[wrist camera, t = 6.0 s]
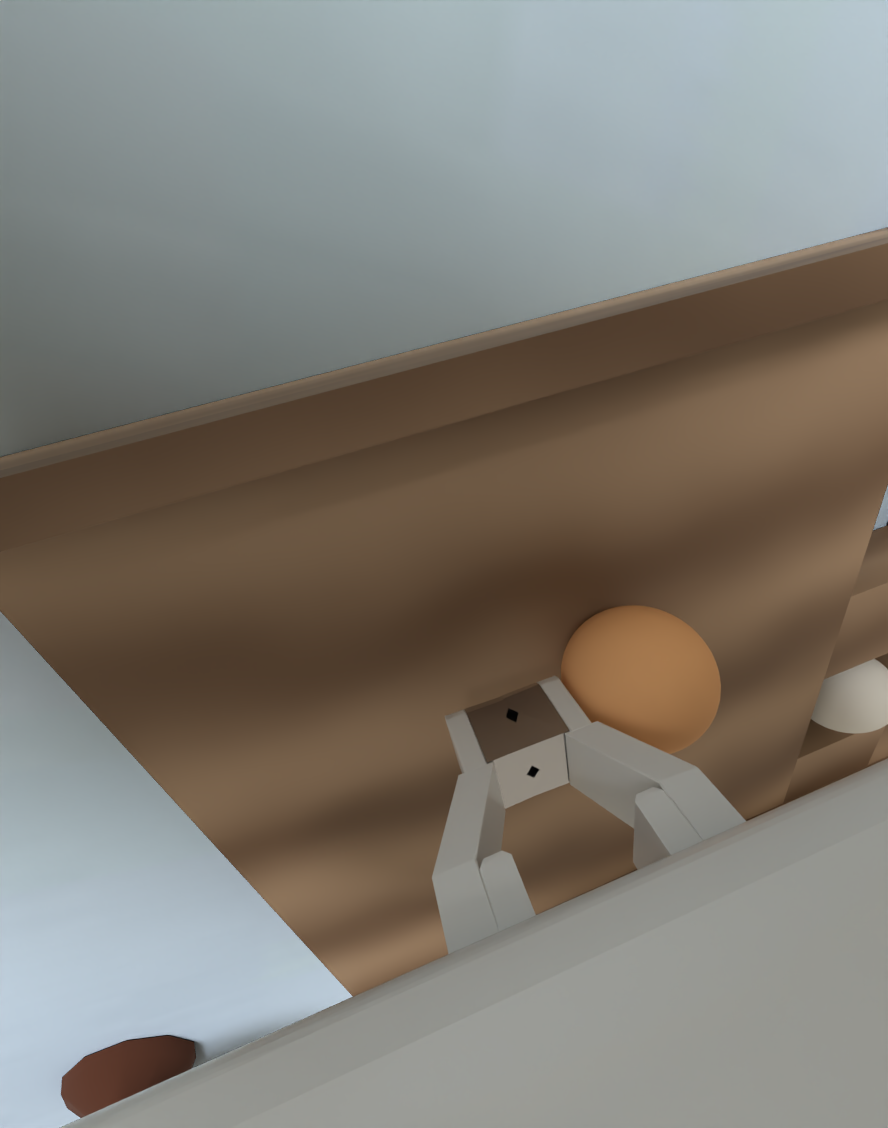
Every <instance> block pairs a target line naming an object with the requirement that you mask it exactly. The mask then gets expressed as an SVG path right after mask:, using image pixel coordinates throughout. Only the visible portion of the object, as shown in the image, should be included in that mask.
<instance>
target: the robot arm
mask: <svg viewBox="0 0 888 1128" xmlns="http://www.w3.org/2000/svg"><path fill="white" fill-rule="evenodd" d="M445 720H446V723H447V727H448V730H449V733H450V737H451V740H452V744H453V747H454V750H455V753H456V757H457V760H458V763H459V766H460V769H461V772H462V774H460V775H458V779H457V783H456V787H455V791H454V795H453V798H452V802H451V806H450V810H449V814H448V818H447V821H446V825H445V829H444V833H443V837H442V841H441V844H440V848H439V852H438V856H437V860H436V864H435V867H434V871H433V875H432V881H433V885H434V890H435V894H436V899H437V904H438V908H439V913H440V917H441V922H442V926H443V931H444V935H445V940H446V945H447V949H448V955H446V956H443V957H441V958H439V959H437V960H434V961H432V962H430V963H428V964H425V965H423V966H421V967H419V968H416V969H414V970H412V971H410V972H407V973H405V974H403V975H401V976H398V977H396V978H394V979H392V980H390V981H387V982H385V983H383V984H381V985H378V986H376V987H374V988H372V989H369V990H367V991H365V992H363V993H360V994H358V995H356V996H354V997H351V998H349V999H347V1000H345V1001H342V1002H340V1003H338V1004H336V1005H333V1006H331V1007H329V1008H327V1009H325V1010H322V1011H320V1012H318V1013H316V1014H313V1015H311V1016H309V1017H307V1018H304V1019H302V1020H300V1021H298V1022H295V1023H293V1024H291V1025H289V1026H286V1027H284V1028H282V1029H280V1030H277V1031H275V1032H273V1033H271V1034H269V1035H266V1036H264V1037H262V1038H260V1039H257V1040H255V1041H253V1042H251V1043H248V1044H246V1045H244V1046H242V1047H239V1048H237V1049H235V1050H233V1051H230V1052H228V1053H226V1054H224V1055H221V1056H219V1057H217V1058H215V1059H212V1060H210V1061H208V1062H206V1063H204V1064H201V1065H199V1066H197V1067H195V1068H192V1069H190V1070H188V1071H186V1072H183V1073H181V1074H179V1075H177V1076H174V1077H172V1078H170V1079H168V1080H165V1081H163V1082H161V1083H159V1084H156V1085H154V1086H152V1087H150V1088H148V1089H145V1090H143V1091H141V1092H139V1093H136V1094H134V1095H132V1096H130V1097H127V1098H125V1099H123V1100H121V1101H118V1102H116V1103H114V1104H112V1105H109V1106H107V1107H105V1108H103V1109H100V1110H98V1111H96V1112H94V1113H91V1114H89V1115H87V1116H85V1117H82V1118H80V1119H78V1120H76V1121H74V1122H71V1123H69V1124H67V1125H65V1126H62V1127H60V1128H888V758H887V759H885V760H883V761H881V762H878V763H876V764H874V765H872V766H870V767H867V768H865V769H863V770H861V771H858V772H856V773H854V774H852V775H849V776H847V777H845V778H843V779H840V780H838V781H836V782H834V783H831V784H829V785H827V786H825V787H822V788H820V789H818V790H816V791H813V792H811V793H809V794H807V795H804V796H802V797H800V798H798V799H796V800H793V801H791V802H789V803H787V804H784V805H782V806H780V807H778V808H775V809H773V810H771V811H769V812H766V813H764V814H762V815H760V816H757V817H755V818H753V819H751V820H748V821H746V820H745V819H744V818H743V817H742V816H741V815H740V814H739V813H738V811H737V810H736V809H735V808H734V807H733V806H732V805H731V804H730V803H729V801H728V800H727V799H726V798H725V797H724V796H723V795H722V794H721V793H720V791H719V790H718V789H717V788H716V787H715V786H714V785H713V784H712V783H711V781H710V780H709V779H708V778H707V777H706V776H705V775H704V774H703V773H702V771H701V770H700V769H699V768H698V767H696V766H694V765H692V764H690V763H688V762H685V761H683V760H681V759H679V758H677V757H675V756H672V755H670V754H668V753H666V752H664V751H662V750H659V749H657V748H655V747H653V746H651V745H649V744H646V743H644V742H642V741H640V740H638V739H635V738H633V737H631V736H629V735H627V734H625V733H622V732H620V731H618V730H616V729H614V728H612V727H609V726H607V725H605V724H603V723H601V722H598V721H596V722H593V723H591V721H590V720H589V718H588V717H587V716H586V714H585V713H584V712H583V710H582V709H581V708H580V706H579V705H578V703H577V702H576V701H575V699H574V698H573V697H572V695H571V694H570V693H569V691H568V690H567V689H566V687H565V686H564V684H563V683H562V682H561V680H560V679H559V678H558V677H556V676H552V677H550V678H547V679H544V680H542V681H539V682H537V683H533V684H530V685H528V686H525V687H522V688H520V689H517V690H515V691H512V692H509V693H507V694H504V695H502V696H500V697H498V698H495V699H492V700H489V701H486V702H483V703H480V704H477V705H474V706H471V707H469V708H466V709H463V710H460V711H458V712H455V713H452V714H449V715H446V716H445ZM567 783H570V785H571V786H573V787H574V788H576V789H577V790H579V791H580V792H582V793H583V794H584V795H586V796H587V797H589V798H590V799H592V800H593V801H595V802H596V803H597V804H599V805H600V806H602V807H603V808H605V809H606V810H608V811H609V812H611V813H612V814H613V815H615V816H616V817H618V818H619V819H621V820H622V821H624V822H625V823H626V824H628V825H629V826H631V827H632V828H634V846H633V863H634V864H635V866H636V868H637V869H638V870H636V871H634V872H632V873H629V874H627V875H625V876H623V877H620V878H618V879H616V880H614V881H611V882H609V883H607V884H605V885H602V886H600V887H598V888H596V889H593V890H591V891H589V892H587V893H585V894H582V895H580V896H578V897H576V898H573V899H571V900H569V901H567V902H564V903H562V904H560V905H558V906H555V907H553V908H551V909H549V910H546V911H544V912H542V913H540V914H537V915H536V914H535V912H534V909H533V907H532V904H531V902H530V899H529V897H528V894H527V892H526V889H525V887H524V884H523V882H522V879H521V877H520V874H519V872H518V869H517V867H516V864H515V862H514V859H513V857H512V854H510V853H507V852H505V851H501V846H502V838H503V829H504V821H505V812H506V811H505V809H506V808H508V807H511V806H513V805H515V804H517V803H520V802H522V801H524V800H526V799H529V798H531V797H533V796H535V795H538V794H541V793H543V792H546V791H549V790H551V789H554V788H557V787H559V786H562V785H565V784H567Z"/></svg>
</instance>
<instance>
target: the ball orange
mask: <svg viewBox="0 0 888 1128" xmlns="http://www.w3.org/2000/svg"><path fill="white" fill-rule="evenodd" d="M561 682H562V683H563V684H564V686H565V687H566V689H567V690H568V691H569V693H570V694H571V695H572V697H573V698H574V699H575V701H576V702H577V703H578V705H579V706H580V708H581V709H582V710H583V712H584V713H585V714H586V716H587V717H588V718H589V720H590V721H591V723H593V722H596V721H598V722H601V723H603V724H605V725H607V726H609V727H612V728H614V729H616V730H618V731H620V732H622V733H625V734H627V735H629V736H631V737H633V738H635V739H638V740H640V741H642V742H644V743H646V744H649V745H651V746H653V747H655V748H657V749H659V750H662V751H664V752H666V753H668V754H672V753H675V752H678V751H680V750H682V749H684V748H686V747H688V746H690V745H691V744H693V743H694V742H695V741H697V740H698V739H699V738H700V737H701V736H702V735H703V734H704V733H705V732H706V730H707V729H708V728H709V727H710V725H711V723H712V721H713V720H714V718H715V716H716V713H717V710H718V706H719V703H720V695H721V682H720V675H719V670H718V667H717V664H716V661H715V659H714V656H713V654H712V652H711V650H710V649H709V647H708V646H707V644H706V643H705V642H704V640H703V639H702V638H701V637H700V635H699V634H698V633H697V632H696V631H695V630H694V629H693V628H692V627H690V626H689V625H688V624H686V623H685V622H684V621H682V620H681V619H679V618H677V617H675V616H674V615H672V614H670V613H667V612H665V611H662V610H659V609H656V608H652V607H647V606H639V605H626V606H619V607H614V608H610V609H607V610H604V611H602V612H600V613H598V614H595V615H594V616H592V617H591V618H589V619H588V620H586V621H585V622H584V623H583V624H582V625H581V626H580V627H579V628H578V629H577V630H576V631H575V632H574V634H573V635H572V637H571V638H570V640H569V641H568V644H567V646H566V649H565V651H564V654H563V658H562V663H561Z"/></svg>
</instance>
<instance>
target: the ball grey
mask: <svg viewBox="0 0 888 1128" xmlns="http://www.w3.org/2000/svg"><path fill="white" fill-rule="evenodd" d="M811 719H812V720H813V721H815V722H816V723H818V724H820V725H822V726H824V727H826V728H829V729H832V730H835V731H839V732H844V733H854V734H855V733H867V732H872V731H875V730H878V729H880V728H882V727H884V726H886V725H887V724H888V669H887V668H886V667H885V666H884V665H883V664H881V663H880V662H879V661H877V660H876V659H872V660H870V661H868V662H865V663H863V664H860V665H858V666H855V667H853V668H851V669H848V670H846V671H843V672H841V673H838V674H836V675H834V676H831V677H829V678H826V679H824V680H823V683H822V686H821V689H820V692H819V696H818V699H817V702H816V705H815V708H814V711H813V714H812V717H811Z"/></svg>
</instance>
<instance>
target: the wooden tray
mask: <svg viewBox="0 0 888 1128" xmlns="http://www.w3.org/2000/svg"><path fill="white" fill-rule="evenodd" d="M887 485H888V227H887V228H884V229H880V230H876V231H872V232H868V233H864V234H860V235H856V236H853V237H849V238H845V239H841V240H837V241H833V242H829V243H826V244H822V245H818V246H814V247H810V248H806V249H802V250H799V251H795V252H791V253H787V254H783V255H779V256H775V257H771V258H768V259H764V260H760V261H756V262H752V263H748V264H744V265H741V266H737V267H733V268H729V269H725V270H721V271H717V272H714V273H710V274H706V275H702V276H698V277H694V278H690V279H687V280H683V281H679V282H675V283H671V284H667V285H663V286H659V287H656V288H652V289H648V290H644V291H640V292H636V293H632V294H629V295H625V296H621V297H617V298H613V299H609V300H605V301H602V302H598V303H594V304H590V305H586V306H582V307H578V308H574V309H571V310H567V311H563V312H559V313H555V314H551V315H547V316H544V317H540V318H536V319H532V320H528V321H524V322H520V323H517V324H513V325H509V326H505V327H501V328H497V329H493V330H490V331H486V332H482V333H478V334H474V335H470V336H466V337H462V338H459V339H455V340H451V341H447V342H443V343H439V344H435V345H432V346H428V347H424V348H420V349H416V350H412V351H408V352H405V353H401V354H397V355H393V356H389V357H385V358H381V359H377V360H374V361H370V362H366V363H362V364H358V365H354V366H350V367H347V368H343V369H339V370H335V371H331V372H327V373H323V374H320V375H316V376H312V377H308V378H304V379H300V380H296V381H293V382H289V383H285V384H281V385H277V386H273V387H269V388H265V389H262V390H258V391H254V392H250V393H246V394H242V395H238V396H235V397H231V398H227V399H223V400H219V401H215V402H211V403H208V404H204V405H200V406H196V407H192V408H188V409H184V410H180V411H177V412H173V413H169V414H165V415H161V416H157V417H153V418H150V419H146V420H142V421H138V422H134V423H130V424H126V425H123V426H119V427H115V428H111V429H107V430H103V431H99V432H95V433H92V434H88V435H84V436H80V437H76V438H72V439H68V440H65V441H61V442H57V443H53V444H49V445H45V446H41V447H38V448H34V449H30V450H26V451H22V452H18V453H14V454H11V455H7V456H3V457H0V611H1V612H2V613H3V615H4V616H5V617H6V618H7V619H8V620H9V621H10V622H11V623H12V624H13V625H14V627H15V628H16V629H17V630H18V631H19V632H20V633H21V634H22V635H23V636H24V637H25V639H26V640H27V641H28V642H29V643H30V644H31V645H32V646H33V647H34V648H35V650H36V651H37V652H38V653H39V654H40V655H41V656H42V657H43V658H44V659H45V660H46V662H47V663H48V664H49V665H50V666H51V667H52V668H53V669H54V670H55V671H56V672H57V674H58V675H59V676H60V677H61V678H62V679H63V680H64V681H65V682H66V683H67V685H68V686H69V687H70V688H71V689H72V690H73V691H74V692H75V693H76V694H77V695H78V697H79V698H80V699H81V700H82V701H83V702H84V703H85V704H86V705H87V706H88V707H89V709H90V710H91V711H92V712H93V713H94V714H95V715H96V716H97V717H98V718H99V719H100V721H101V722H102V723H103V724H104V725H105V726H106V727H107V728H108V729H109V730H110V732H111V733H112V734H113V735H114V736H115V737H116V738H117V739H118V740H119V741H120V742H121V744H122V745H123V746H124V747H125V748H126V749H127V750H128V751H129V752H130V753H131V754H132V756H133V757H134V758H135V759H136V760H137V761H138V762H139V763H140V764H141V765H142V766H143V768H144V769H145V770H146V771H147V772H148V773H149V774H150V775H151V776H152V777H153V779H154V780H155V781H156V782H157V783H158V784H159V785H160V786H161V787H162V788H163V789H164V791H165V792H166V793H167V794H168V795H169V796H170V797H171V798H172V799H173V800H174V801H175V803H176V804H177V805H178V806H179V807H180V808H181V809H182V810H183V811H184V812H185V813H186V815H187V816H188V817H189V818H190V819H191V820H192V821H193V822H194V823H195V824H196V826H197V827H198V828H199V829H200V830H201V831H202V832H203V833H204V834H205V835H206V836H207V838H208V839H209V840H210V841H211V842H212V843H213V844H214V845H215V846H216V847H217V848H218V850H219V851H220V852H221V853H222V854H223V855H224V856H225V857H226V858H227V859H228V861H229V862H230V863H231V864H232V865H233V866H234V867H235V868H236V869H237V870H238V871H239V873H240V874H241V875H242V876H243V877H244V878H245V879H246V880H247V881H248V882H249V883H250V885H251V886H252V887H253V888H254V889H255V890H256V891H257V892H258V893H259V894H260V895H261V897H262V898H263V899H264V900H265V901H266V902H267V903H268V904H269V905H270V906H271V908H272V909H273V910H274V911H275V912H276V913H277V914H278V915H279V916H280V917H281V918H282V920H283V921H284V922H285V923H286V924H287V925H288V926H289V927H290V928H291V929H292V930H293V932H294V933H295V934H296V935H297V936H298V937H299V938H300V939H301V940H302V941H303V942H304V944H305V945H306V946H307V947H308V948H309V949H310V950H311V951H312V952H313V953H314V955H315V956H316V957H317V958H318V959H319V960H320V961H321V962H322V963H323V964H324V965H325V967H326V968H327V969H328V970H329V971H330V972H331V973H332V974H333V975H334V976H335V977H336V979H337V980H338V981H339V982H340V983H341V984H342V985H343V986H344V987H345V988H346V989H347V991H348V992H349V993H350V994H351V995H352V996H353V997H354V996H356V995H358V994H360V993H363V992H365V991H367V990H369V989H372V988H374V987H376V986H378V985H381V984H383V983H385V982H387V981H390V980H392V979H394V978H396V977H398V976H401V975H403V974H405V973H407V972H410V971H412V970H414V969H416V968H419V967H421V966H423V965H425V964H428V963H430V962H432V961H434V960H437V959H439V958H441V957H443V956H446V955H448V949H447V945H446V940H445V935H444V931H443V926H442V922H441V917H440V913H439V908H438V904H437V899H436V894H435V890H434V885H433V881H432V875H433V871H434V867H435V864H436V860H437V856H438V852H439V848H440V844H441V841H442V837H443V833H444V829H445V825H446V821H447V818H448V814H449V810H450V806H451V802H452V798H453V795H454V791H455V787H456V783H457V779H458V775H460V774H462V772H461V769H460V766H459V763H458V760H457V757H456V753H455V750H454V747H453V744H452V740H451V737H450V733H449V730H448V727H447V723H446V720H445V716H446V715H449V714H452V713H455V712H458V711H460V710H463V709H466V708H469V707H471V706H474V705H477V704H480V703H483V702H486V701H489V700H492V699H495V698H498V697H500V696H502V695H504V694H507V693H509V692H512V691H515V690H517V689H520V688H522V687H525V686H528V685H530V684H533V683H537V682H539V681H542V680H544V679H547V678H550V677H552V676H556V677H558V678H559V679H560V680H561V663H562V658H563V654H564V651H565V649H566V646H567V644H568V641H569V640H570V638H571V637H572V635H573V634H574V632H575V631H576V630H577V629H578V628H579V627H580V626H581V625H582V624H583V623H584V622H585V621H586V620H588V619H589V618H591V617H592V616H594V615H595V614H598V613H600V612H602V611H604V610H607V609H610V608H614V607H619V606H626V605H639V606H647V607H652V608H656V609H659V610H662V611H665V612H667V613H670V614H672V615H674V616H675V617H677V618H679V619H681V620H682V621H684V622H685V623H686V624H688V625H689V626H690V627H692V628H693V629H694V630H695V631H696V632H697V633H698V634H699V635H700V637H701V638H702V639H703V640H704V642H705V643H706V644H707V646H708V647H709V649H710V650H711V652H712V654H713V656H714V659H715V661H716V664H717V667H718V670H719V675H720V682H721V695H720V703H719V706H718V710H717V713H716V716H715V718H714V720H713V721H712V723H711V725H710V727H709V728H708V729H707V730H706V732H705V733H704V734H703V735H702V736H701V737H700V738H699V739H698V740H697V741H695V742H694V743H693V744H691V745H690V746H688V747H686V748H684V749H682V750H680V751H678V752H675V753H672V754H670V755H672V756H675V757H677V758H679V759H681V760H683V761H685V762H688V763H690V764H692V765H694V766H696V767H698V768H699V769H700V770H701V771H702V773H703V774H704V775H705V776H706V777H707V778H708V779H709V780H710V781H711V783H712V784H713V785H714V786H715V787H716V788H717V789H718V790H719V791H720V793H721V794H722V795H723V796H724V797H725V798H726V799H727V800H728V801H729V803H730V804H731V805H732V806H733V807H734V808H735V809H736V810H737V811H738V813H739V814H740V815H741V816H742V817H743V818H744V819H745V820H746V821H748V820H751V819H753V818H755V817H757V816H760V815H762V814H764V813H766V812H769V811H771V810H773V809H775V808H778V807H780V806H782V805H784V804H787V803H789V802H791V801H793V800H796V799H798V798H800V797H802V796H804V795H807V794H809V793H811V792H813V791H816V790H818V789H820V788H822V787H825V786H827V785H829V784H831V783H834V782H836V781H838V780H840V779H843V778H845V777H847V776H849V775H852V774H854V773H856V772H858V771H861V770H863V769H865V768H867V767H870V766H872V765H874V764H876V763H878V762H881V761H883V760H885V759H887V758H888V724H887V725H886V726H884V727H882V728H880V729H878V730H875V731H872V732H867V733H855V734H854V733H844V732H839V731H835V730H832V729H829V728H826V727H824V726H822V725H820V724H818V723H816V722H815V721H813V720H812V719H811V717H812V714H813V711H814V708H815V705H816V702H817V699H818V696H819V692H820V689H821V686H822V683H823V680H824V679H826V678H829V677H831V676H834V675H836V674H838V673H841V672H843V671H846V670H848V669H851V668H853V667H855V666H858V665H860V664H863V663H865V662H868V661H870V660H872V659H876V660H877V661H879V662H880V663H881V664H883V665H884V666H885V667H886V668H887V669H888V525H887V526H885V527H882V528H879V529H877V530H874V531H873V528H874V525H875V522H876V519H877V516H878V513H879V510H880V507H881V504H882V501H883V498H884V494H885V491H886V488H887ZM505 811H506V812H505V821H504V829H503V838H502V846H501V851H505V852H507V853H510V854H512V857H513V859H514V862H515V864H516V867H517V869H518V872H519V874H520V877H521V879H522V882H523V884H524V887H525V889H526V892H527V894H528V897H529V899H530V902H531V904H532V907H533V909H534V912H535V914H536V915H537V914H540V913H542V912H544V911H546V910H549V909H551V908H553V907H555V906H558V905H560V904H562V903H564V902H567V901H569V900H571V899H573V898H576V897H578V896H580V895H582V894H585V893H587V892H589V891H591V890H593V889H596V888H598V887H600V886H602V885H605V884H607V883H609V882H611V881H614V880H616V879H618V878H620V877H623V876H625V875H627V874H629V873H632V872H634V871H636V870H638V869H637V868H636V866H635V864H634V863H633V846H634V828H632V827H631V826H629V825H628V824H626V823H625V822H624V821H622V820H621V819H619V818H618V817H616V816H615V815H613V814H612V813H611V812H609V811H608V810H606V809H605V808H603V807H602V806H600V805H599V804H597V803H596V802H595V801H593V800H592V799H590V798H589V797H587V796H586V795H584V794H583V793H582V792H580V791H579V790H577V789H576V788H574V787H573V786H571V785H570V783H567V784H565V785H562V786H559V787H557V788H554V789H551V790H549V791H546V792H543V793H541V794H538V795H535V796H533V797H531V798H529V799H526V800H524V801H522V802H520V803H517V804H515V805H513V806H511V807H508V808H506V809H505Z"/></svg>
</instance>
